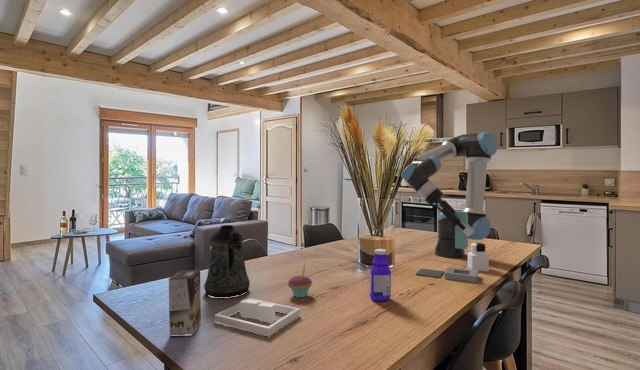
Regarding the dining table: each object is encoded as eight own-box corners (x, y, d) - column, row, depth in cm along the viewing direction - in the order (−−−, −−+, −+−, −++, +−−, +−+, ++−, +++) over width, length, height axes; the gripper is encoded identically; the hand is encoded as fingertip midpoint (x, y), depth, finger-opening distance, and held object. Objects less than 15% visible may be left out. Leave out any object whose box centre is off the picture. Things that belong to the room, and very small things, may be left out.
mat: (420, 269, 162) (420, 268, 162) (443, 272, 157) (443, 271, 157) (415, 275, 153) (415, 273, 153) (439, 278, 148) (439, 277, 148)
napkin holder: (231, 317, 111) (230, 299, 110) (264, 309, 117) (264, 292, 117) (249, 335, 98) (249, 314, 98) (286, 324, 104) (285, 305, 104)
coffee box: (193, 336, 96) (192, 278, 96) (169, 337, 96) (167, 279, 95) (201, 322, 106) (200, 269, 105) (179, 323, 105) (178, 270, 105)
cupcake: (315, 293, 131) (314, 260, 131) (306, 301, 123) (306, 266, 123) (293, 290, 134) (293, 259, 133) (284, 298, 126) (283, 264, 125)
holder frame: (249, 305, 119) (249, 298, 119) (300, 316, 110) (300, 308, 109) (214, 323, 105) (214, 314, 105) (269, 337, 95) (268, 328, 95)
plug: (456, 245, 152) (456, 211, 151) (467, 246, 150) (467, 211, 149) (455, 248, 148) (454, 212, 147) (466, 249, 146) (466, 213, 145)
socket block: (448, 272, 156) (448, 267, 156) (478, 276, 150) (478, 270, 150) (444, 278, 147) (444, 272, 147) (475, 282, 142) (476, 276, 142)
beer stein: (225, 282, 144) (224, 221, 143) (264, 289, 136) (263, 224, 135) (194, 295, 129) (193, 227, 128) (236, 303, 121) (235, 231, 120)
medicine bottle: (483, 267, 165) (483, 241, 164) (488, 271, 158) (489, 244, 157) (467, 267, 165) (467, 241, 165) (472, 271, 158) (472, 244, 158)
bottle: (387, 295, 128) (387, 247, 127) (393, 301, 122) (393, 251, 122) (367, 297, 126) (367, 248, 126) (372, 302, 121) (372, 252, 120)
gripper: (428, 198, 163) (467, 236, 156) (419, 201, 147) (462, 243, 140) (440, 186, 160) (480, 225, 153) (432, 188, 145) (476, 231, 137)
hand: (471, 233), depth 147 cm, fingers closed on plug, 5 cm apart
